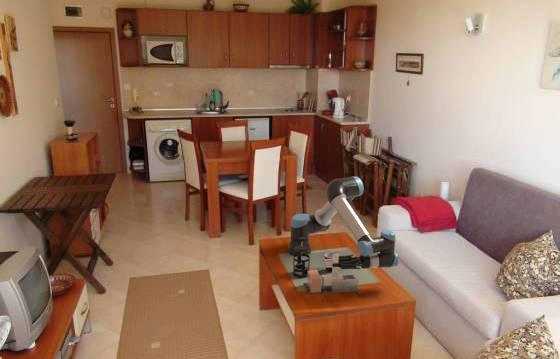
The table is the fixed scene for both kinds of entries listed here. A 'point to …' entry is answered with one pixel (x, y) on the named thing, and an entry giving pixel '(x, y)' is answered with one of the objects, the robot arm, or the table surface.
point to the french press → (301, 263)
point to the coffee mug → (329, 256)
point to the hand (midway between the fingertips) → (325, 263)
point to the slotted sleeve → (339, 285)
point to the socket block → (314, 281)
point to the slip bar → (327, 279)
